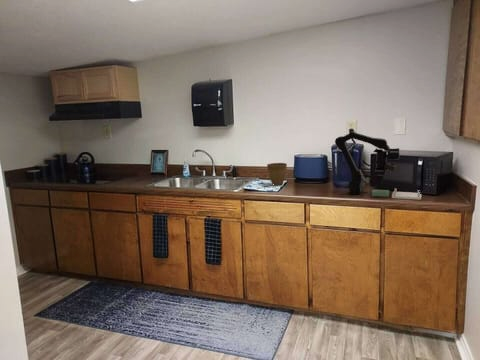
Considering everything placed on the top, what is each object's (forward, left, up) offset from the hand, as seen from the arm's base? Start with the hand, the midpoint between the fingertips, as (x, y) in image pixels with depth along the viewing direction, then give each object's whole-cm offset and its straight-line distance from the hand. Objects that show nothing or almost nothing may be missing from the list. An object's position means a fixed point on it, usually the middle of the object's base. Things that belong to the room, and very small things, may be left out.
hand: (380, 183), depth 224 cm
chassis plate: (+15, 0, -7) cm, 17 cm away
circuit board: (0, 0, -8) cm, 8 cm away
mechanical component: (-12, +6, -8) cm, 15 cm away
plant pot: (-75, +14, -8) cm, 77 cm away
